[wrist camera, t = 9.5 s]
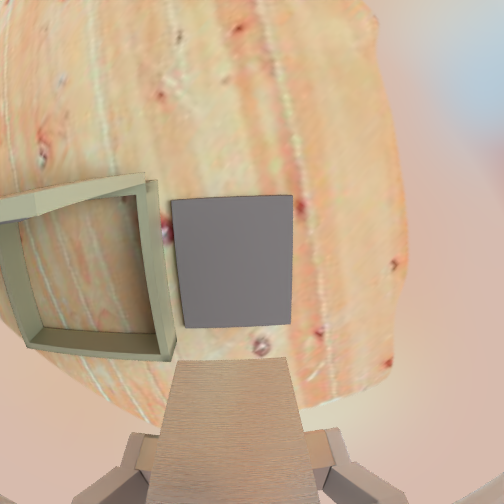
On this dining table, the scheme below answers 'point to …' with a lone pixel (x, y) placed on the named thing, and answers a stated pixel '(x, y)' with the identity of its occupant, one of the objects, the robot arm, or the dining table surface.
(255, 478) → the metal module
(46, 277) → the dining table surface
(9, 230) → the olive open box frame
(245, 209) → the rubber mat
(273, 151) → the dining table surface
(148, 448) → the robot arm
